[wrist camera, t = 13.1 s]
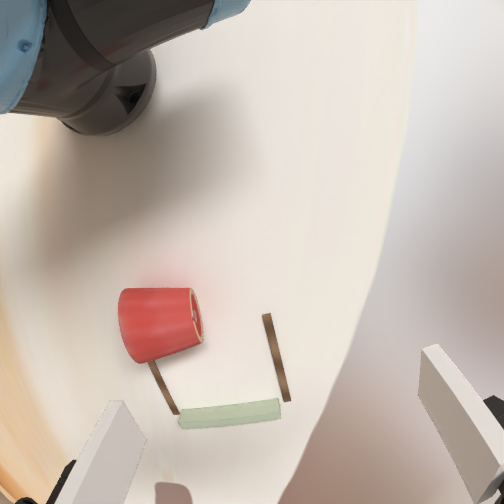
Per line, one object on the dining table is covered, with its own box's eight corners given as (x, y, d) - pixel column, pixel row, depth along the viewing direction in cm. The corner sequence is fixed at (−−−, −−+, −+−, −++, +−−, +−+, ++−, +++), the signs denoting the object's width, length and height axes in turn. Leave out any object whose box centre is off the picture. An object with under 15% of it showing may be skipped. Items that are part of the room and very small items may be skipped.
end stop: (182, 409, 53) (178, 422, 50) (278, 398, 51) (278, 411, 48) (185, 416, 54) (182, 429, 50) (280, 405, 52) (281, 419, 49)
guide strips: (136, 335, 49) (136, 336, 48) (270, 313, 47) (270, 314, 46) (173, 413, 54) (173, 414, 53) (290, 399, 51) (291, 400, 51)
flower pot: (188, 319, 35) (111, 331, 35) (208, 368, 42) (144, 377, 41) (187, 260, 44) (122, 273, 43) (204, 312, 50) (147, 322, 50)
